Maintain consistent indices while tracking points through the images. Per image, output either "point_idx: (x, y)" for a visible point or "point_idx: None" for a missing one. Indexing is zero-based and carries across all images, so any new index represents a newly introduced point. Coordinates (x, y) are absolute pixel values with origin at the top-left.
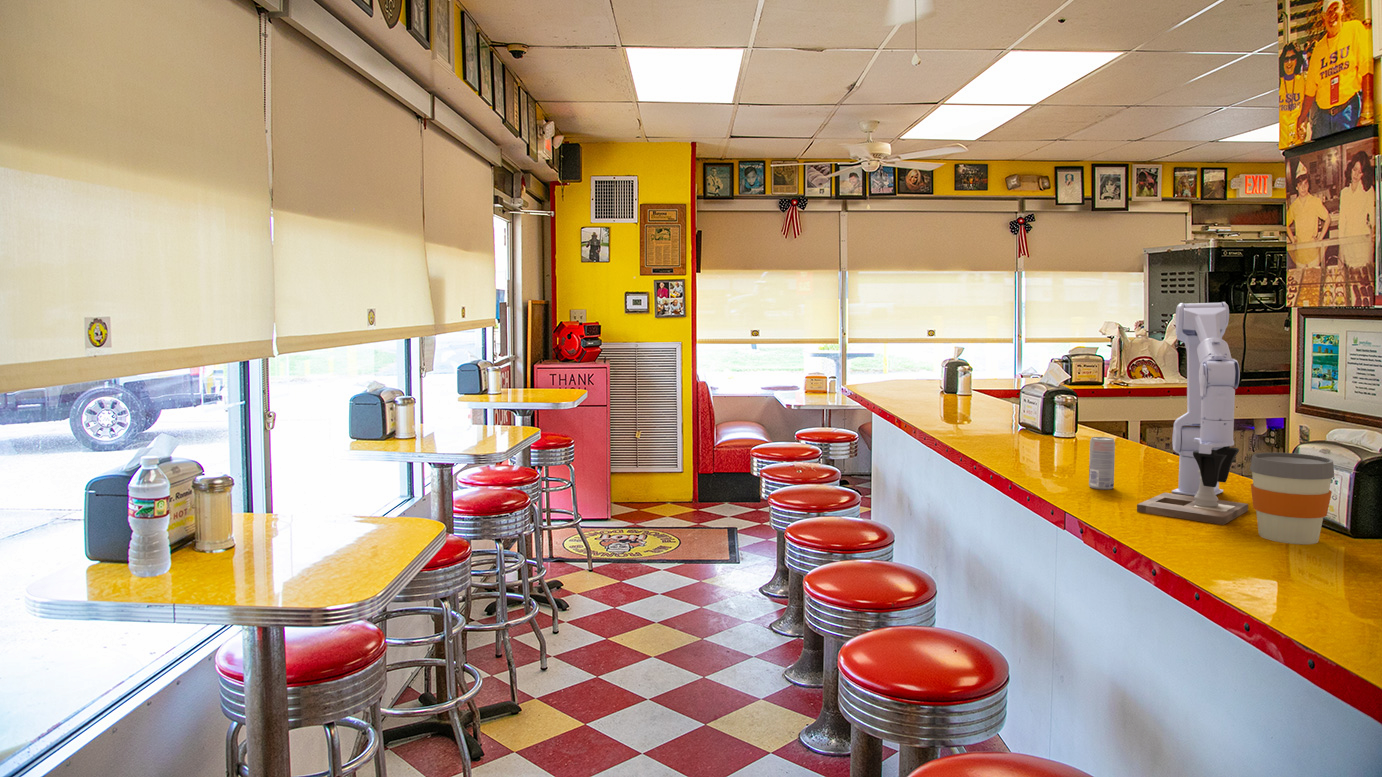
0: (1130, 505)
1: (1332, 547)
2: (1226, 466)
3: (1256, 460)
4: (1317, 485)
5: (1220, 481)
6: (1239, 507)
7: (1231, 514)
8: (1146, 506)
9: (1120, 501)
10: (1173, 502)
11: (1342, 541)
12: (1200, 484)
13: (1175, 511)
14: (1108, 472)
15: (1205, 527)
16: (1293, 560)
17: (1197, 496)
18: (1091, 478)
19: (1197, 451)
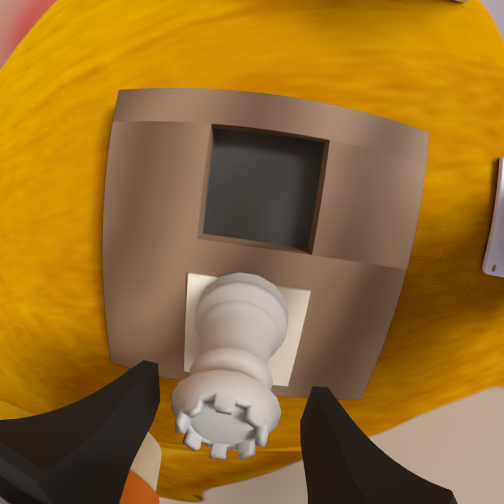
0: (221, 48)
1: None
2: (311, 488)
3: None
4: None
5: (306, 409)
6: (289, 393)
7: (183, 378)
8: (114, 123)
9: (272, 11)
10: (321, 176)
11: (160, 484)
12: (212, 339)
13: (104, 227)
14: None
15: (67, 313)
16: (14, 409)
17: (208, 301)
18: None
19: (11, 474)
